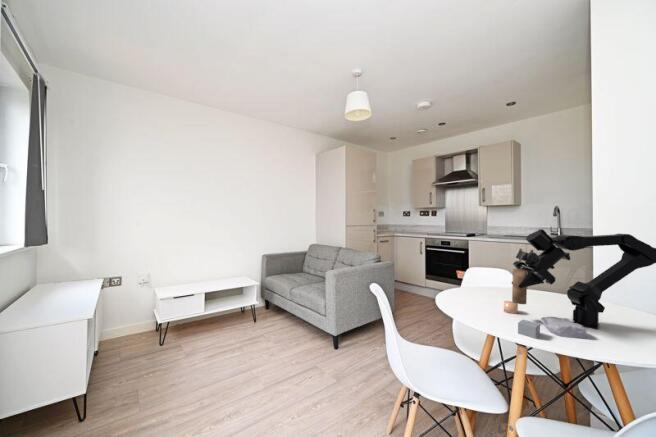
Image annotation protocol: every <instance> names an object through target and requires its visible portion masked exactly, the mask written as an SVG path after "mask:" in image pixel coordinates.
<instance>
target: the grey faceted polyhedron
mask: <svg viewBox="0 0 656 437" xmlns="http://www.w3.org/2000/svg"><path fill="white" fill-rule="evenodd" d="M517 334H518V335H521V336H525V337H529V338H532V339H537V338H538V337H539V336H540V335H541V323H538V322H534V321H531V320H527V319H521V320H519V321H518V322H517Z"/></svg>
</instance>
